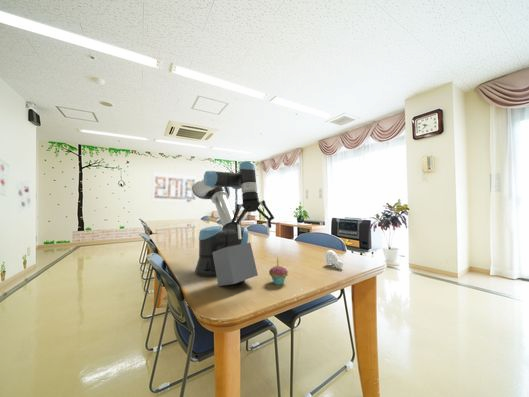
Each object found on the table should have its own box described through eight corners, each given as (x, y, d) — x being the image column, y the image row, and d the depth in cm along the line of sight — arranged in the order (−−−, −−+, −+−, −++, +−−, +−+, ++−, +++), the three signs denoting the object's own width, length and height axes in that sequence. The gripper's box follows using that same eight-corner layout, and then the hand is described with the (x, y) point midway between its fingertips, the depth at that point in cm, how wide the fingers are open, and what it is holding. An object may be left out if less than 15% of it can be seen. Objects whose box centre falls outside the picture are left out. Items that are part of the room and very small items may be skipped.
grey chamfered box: (218, 286, 88) (212, 252, 92) (241, 277, 97) (235, 247, 101) (233, 283, 80) (226, 247, 84) (257, 275, 90) (250, 242, 93)
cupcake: (286, 287, 87) (286, 258, 87) (267, 285, 89) (267, 257, 89) (288, 279, 96) (288, 254, 96) (270, 278, 97) (270, 253, 98)
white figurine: (332, 248, 122) (347, 255, 110) (331, 262, 122) (346, 270, 111) (323, 249, 120) (337, 256, 108) (323, 263, 120) (336, 272, 109)
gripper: (222, 194, 96) (225, 240, 91) (274, 187, 94) (280, 233, 89) (226, 198, 103) (230, 240, 98) (275, 191, 101) (281, 234, 96)
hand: (254, 237), depth 94 cm, fingers open, 13 cm apart
